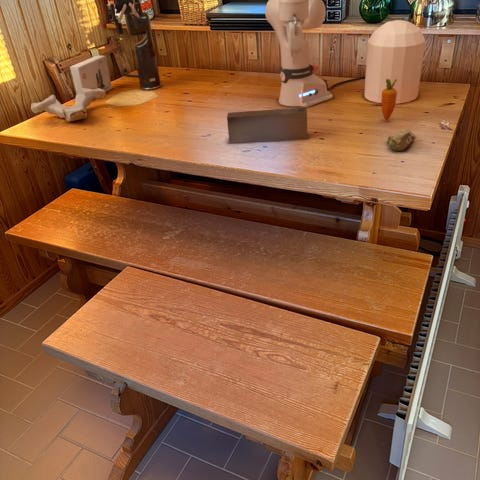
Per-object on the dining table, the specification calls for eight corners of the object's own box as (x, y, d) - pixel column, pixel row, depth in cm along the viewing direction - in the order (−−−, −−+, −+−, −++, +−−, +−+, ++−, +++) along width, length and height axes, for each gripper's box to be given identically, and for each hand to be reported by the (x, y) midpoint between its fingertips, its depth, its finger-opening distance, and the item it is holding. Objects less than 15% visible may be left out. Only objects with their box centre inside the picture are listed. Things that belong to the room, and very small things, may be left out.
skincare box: (87, 102, 214) (77, 67, 204) (78, 102, 215) (68, 66, 206) (113, 88, 229) (105, 54, 220) (104, 88, 231) (96, 54, 222)
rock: (408, 140, 153) (379, 139, 152) (414, 122, 149) (384, 120, 148) (421, 154, 144) (391, 153, 143) (428, 135, 140) (396, 133, 139)
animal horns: (27, 127, 191) (17, 99, 184) (60, 107, 212) (52, 81, 206) (89, 127, 185) (81, 97, 179) (116, 106, 206) (110, 79, 200)
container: (387, 107, 176) (395, 28, 160) (353, 94, 192) (357, 21, 176) (429, 96, 183) (441, 19, 167) (393, 84, 199) (400, 12, 183)
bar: (229, 143, 161) (226, 117, 156) (230, 138, 165) (227, 112, 159) (307, 138, 159) (307, 112, 153) (306, 133, 162) (306, 107, 157)
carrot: (394, 118, 167) (398, 76, 158) (393, 123, 163) (397, 80, 154) (379, 117, 168) (383, 75, 160) (378, 122, 165) (382, 80, 156)
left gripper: (126, -21, 170) (136, 27, 179) (96, -15, 161) (108, 35, 170) (141, -21, 166) (149, 28, 175) (111, -15, 157) (121, 36, 166)
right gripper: (306, 17, 130) (306, 68, 137) (302, 6, 146) (302, 52, 154) (284, 19, 130) (285, 69, 138) (282, 7, 147) (283, 53, 155)
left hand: (129, 31), depth 173 cm, fingers open, 8 cm apart
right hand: (294, 60), depth 146 cm, fingers open, 8 cm apart
